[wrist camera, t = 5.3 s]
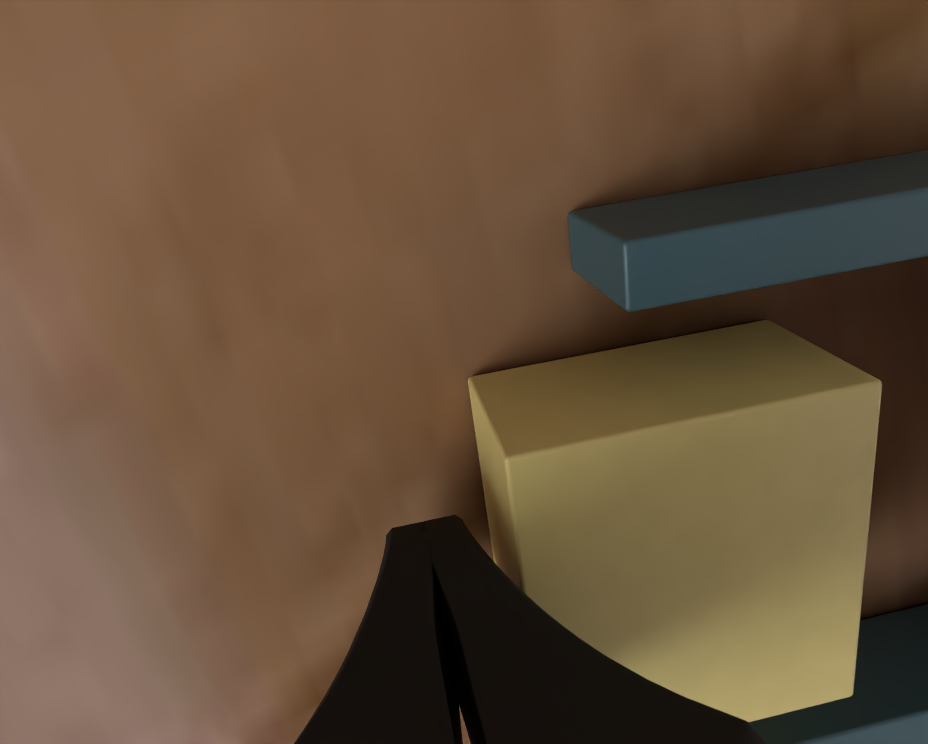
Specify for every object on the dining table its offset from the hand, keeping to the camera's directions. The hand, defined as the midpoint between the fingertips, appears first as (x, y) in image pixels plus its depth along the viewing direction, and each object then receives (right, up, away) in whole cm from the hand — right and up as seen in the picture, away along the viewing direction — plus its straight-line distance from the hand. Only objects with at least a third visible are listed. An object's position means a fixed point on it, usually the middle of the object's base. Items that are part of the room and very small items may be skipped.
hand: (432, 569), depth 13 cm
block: (+4, +1, +1) cm, 4 cm away
